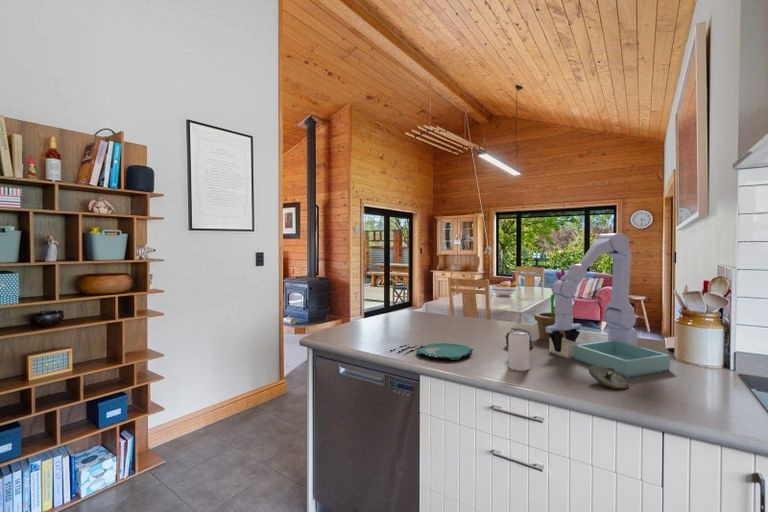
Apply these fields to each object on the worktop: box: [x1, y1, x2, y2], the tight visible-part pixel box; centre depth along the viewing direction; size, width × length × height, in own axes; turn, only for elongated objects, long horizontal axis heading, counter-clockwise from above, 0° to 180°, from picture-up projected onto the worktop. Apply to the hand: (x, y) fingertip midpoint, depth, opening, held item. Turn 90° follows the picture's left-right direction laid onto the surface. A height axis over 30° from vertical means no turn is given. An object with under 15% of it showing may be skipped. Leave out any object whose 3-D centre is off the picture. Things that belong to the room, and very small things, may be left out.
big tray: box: [574, 340, 671, 379], centre depth 127 cm, size 18×20×5 cm
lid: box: [588, 365, 630, 391], centre depth 111 cm, size 11×10×5 cm
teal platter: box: [416, 342, 474, 361], centre depth 146 cm, size 20×30×2 cm, turn 57°
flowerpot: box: [533, 268, 566, 343], centre depth 161 cm, size 14×14×30 cm
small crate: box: [548, 338, 580, 359], centre depth 140 cm, size 5×9×5 cm, turn 18°
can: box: [507, 330, 530, 372], centre depth 125 cm, size 6×6×12 cm
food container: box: [510, 327, 533, 348], centre depth 134 cm, size 12×6×10 cm, turn 168°
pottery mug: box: [505, 327, 534, 350], centre depth 152 cm, size 12×10×8 cm
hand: (563, 350), depth 140 cm, fingers closed on small crate, 5 cm apart
